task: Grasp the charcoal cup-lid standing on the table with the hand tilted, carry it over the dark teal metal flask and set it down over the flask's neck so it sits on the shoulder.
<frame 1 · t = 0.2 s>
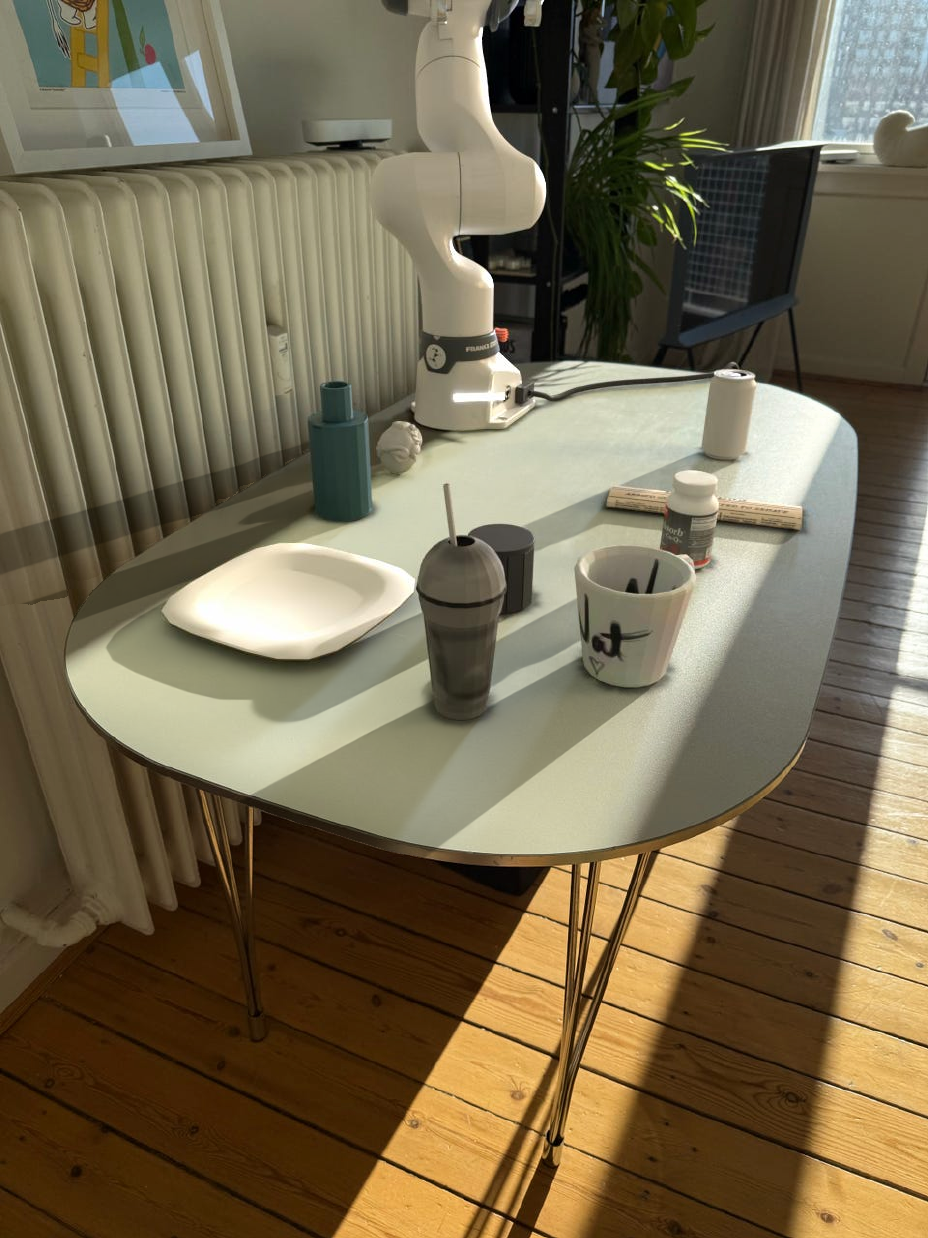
hand: (486, 23, 90), 52 cm above the table, tool tilted 20°, fingers open, 8 cm apart
plate: (293, 608, 92), on the table
cream lumpy ball: (399, 473, 127), on the table
pill bottle: (683, 561, 102), on the table
mug: (638, 658, 84), on the table
beverage can: (722, 455, 134), on the table
beverage cup: (461, 706, 77), on the table
newspaper: (702, 512, 115), on the table
flask: (343, 510, 114), on the table
flask lid: (499, 598, 94), on the table
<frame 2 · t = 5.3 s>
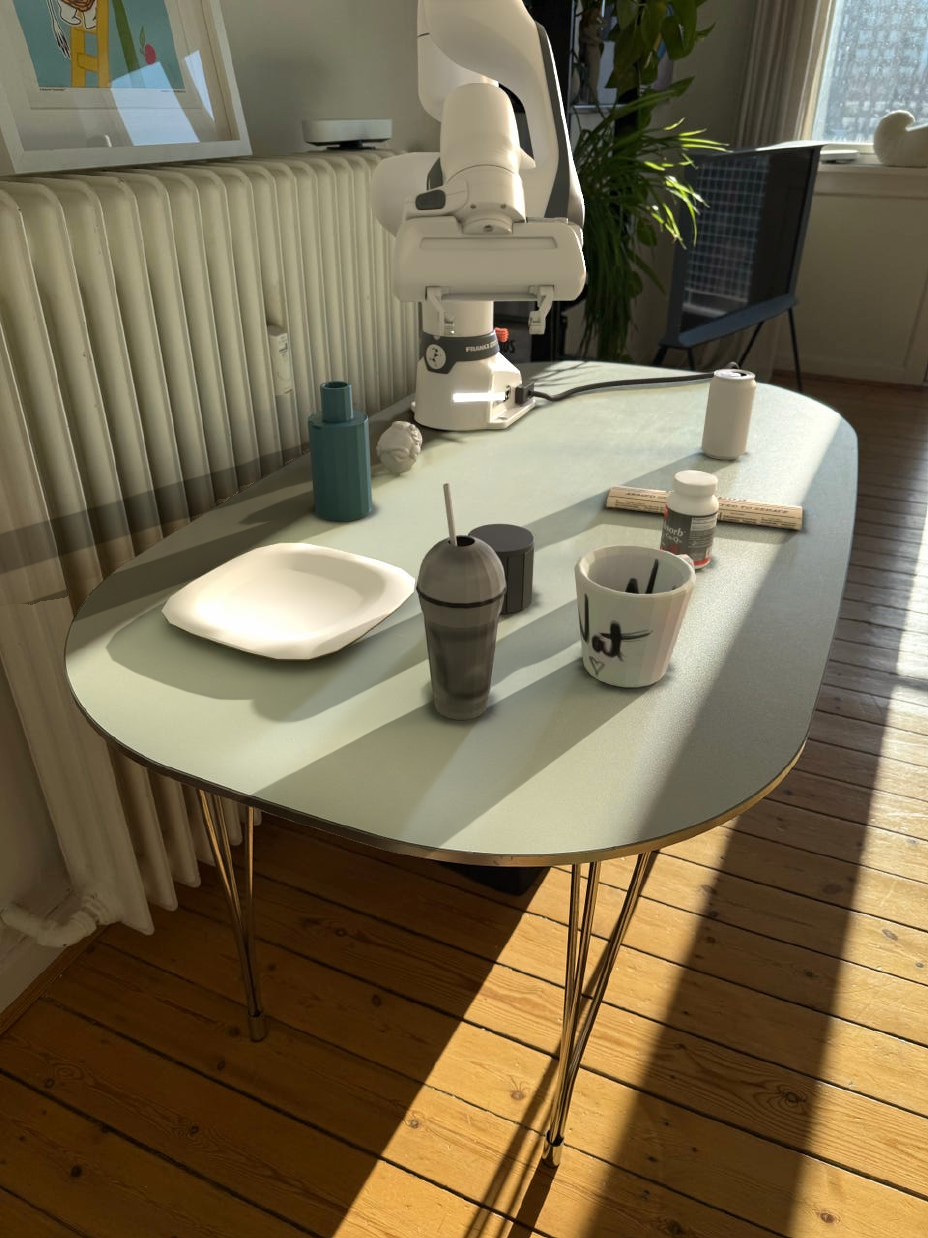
hand: (492, 331, 93), 25 cm above the table, tool tilted 45°, fingers open, 8 cm apart
nothing on the table moved.
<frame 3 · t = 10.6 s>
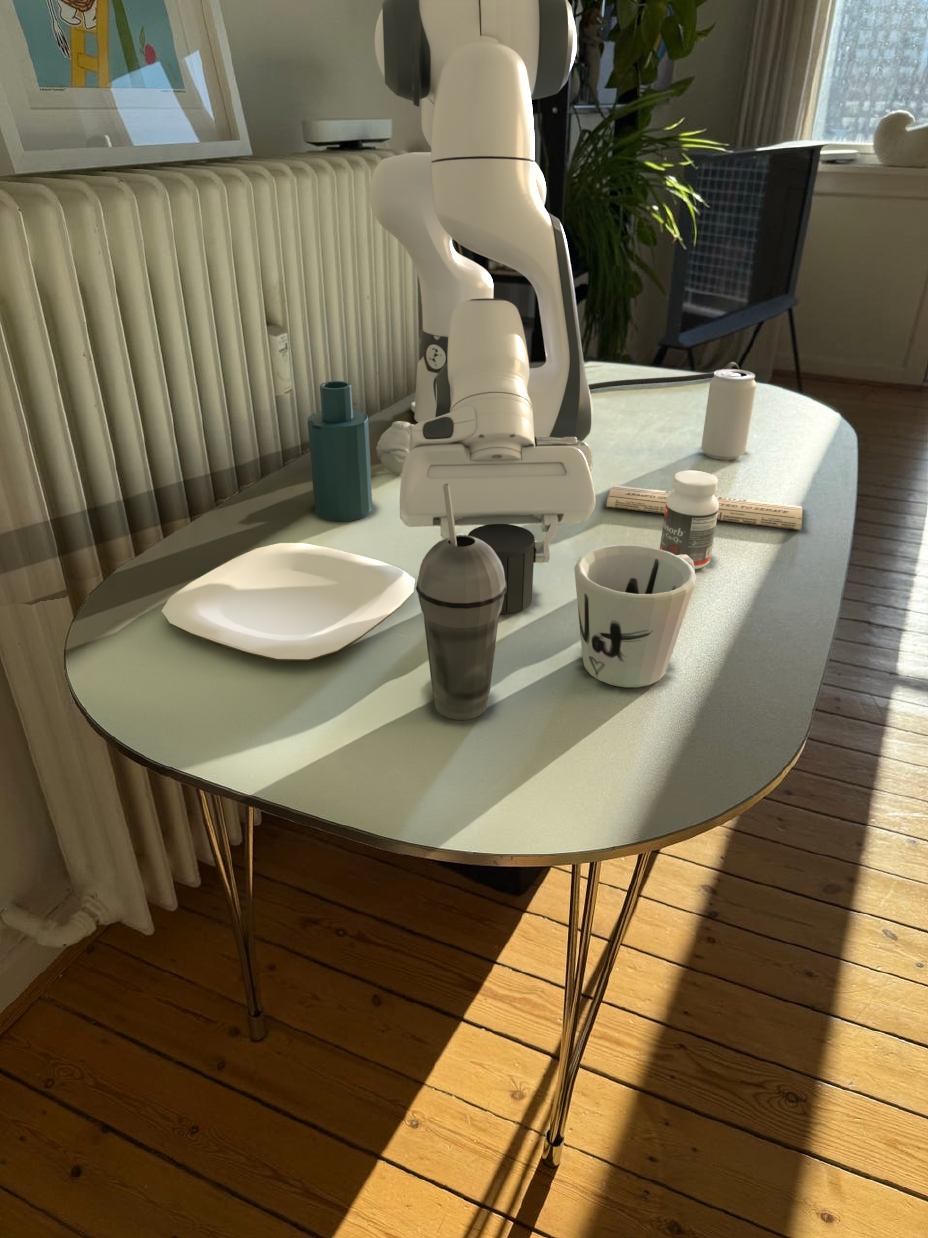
hand: (500, 562, 91), 5 cm above the table, tool tilted 45°, fingers closed on flask lid, 7 cm apart
flask lid: (499, 598, 94), on the table, touching gripper
everything else where it was.
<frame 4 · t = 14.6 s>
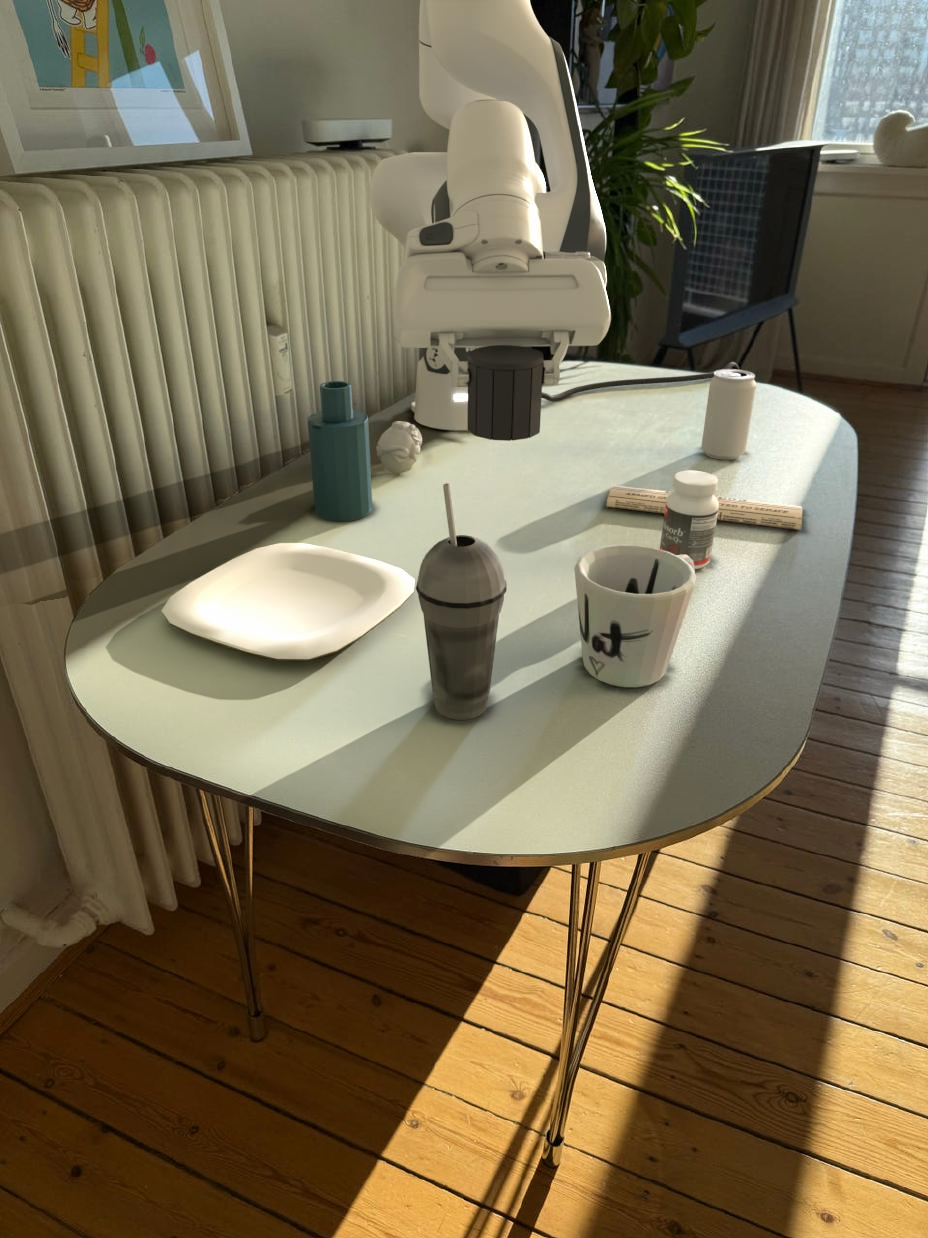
hand: (505, 383, 82), 23 cm above the table, tool tilted 45°, fingers closed on flask lid, 7 cm apart
flask lid: (503, 428, 85), point 18 cm above the table, touching gripper
everything else where it was.
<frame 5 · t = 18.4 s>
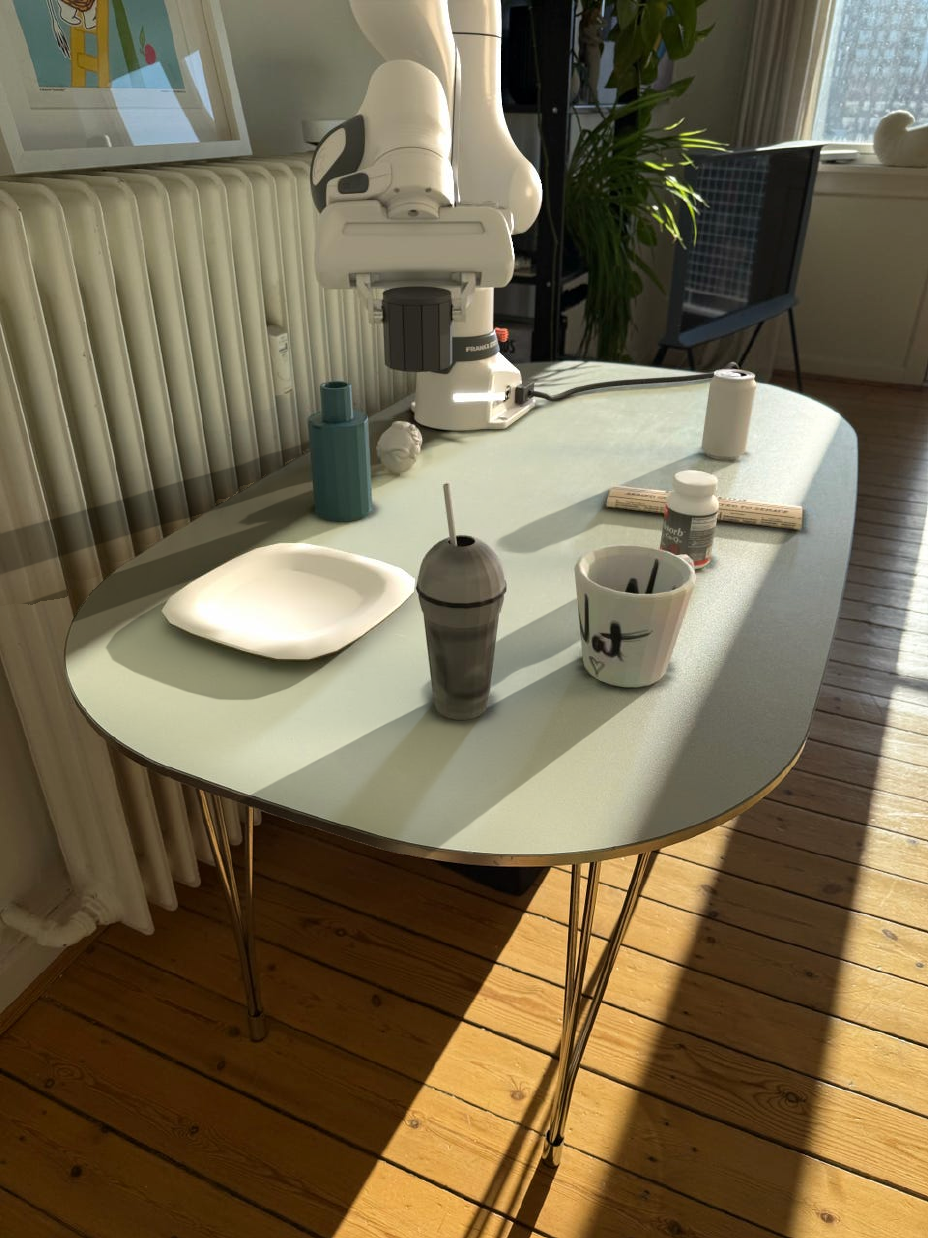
hand: (417, 319, 90), 26 cm above the table, tool tilted 45°, fingers closed on flask lid, 7 cm apart
flask lid: (418, 363, 93), point 22 cm above the table, touching gripper
everything else where it was.
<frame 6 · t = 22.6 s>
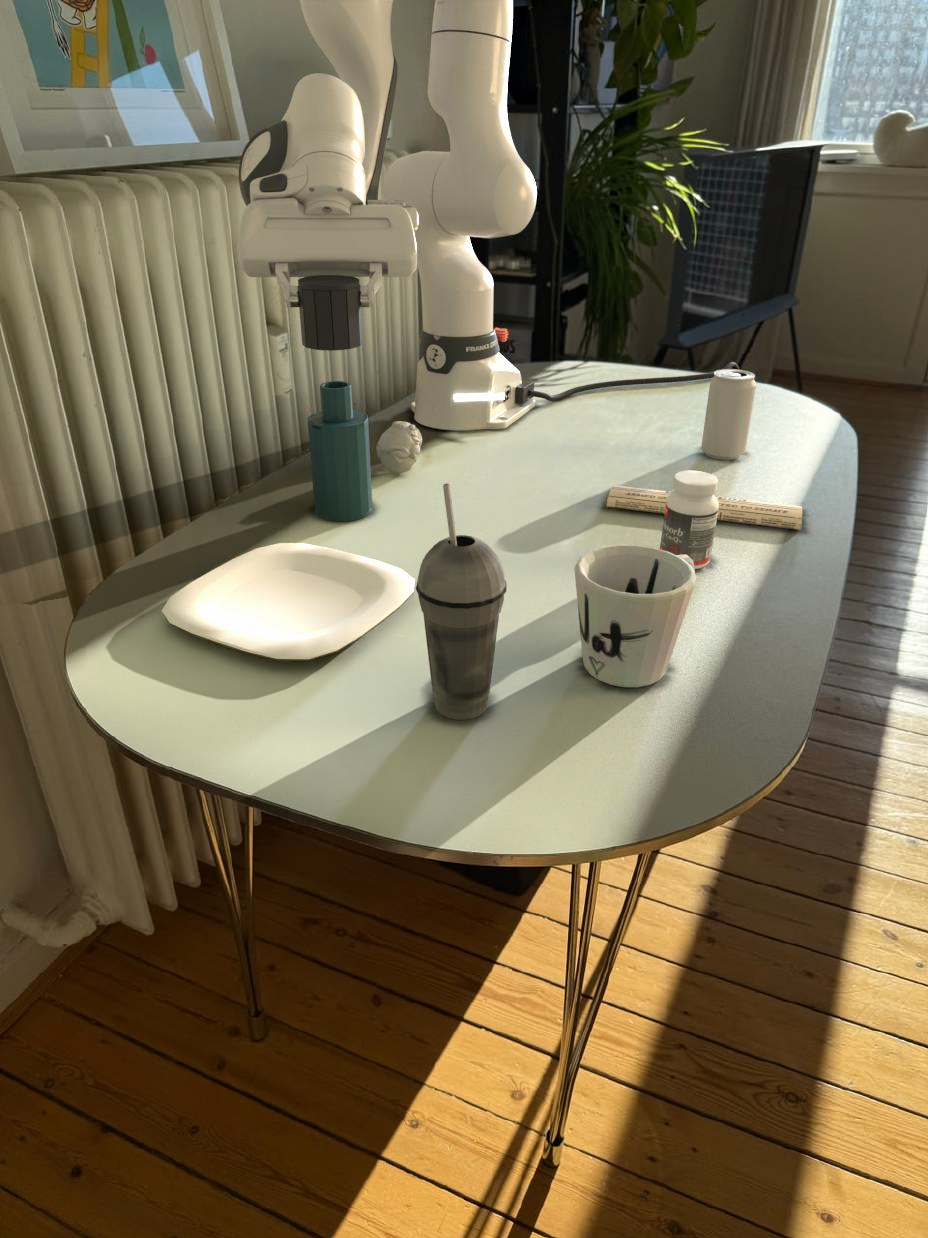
hand: (329, 304, 101), 25 cm above the table, tool tilted 45°, fingers closed on flask lid, 7 cm apart
flask lid: (332, 343, 104), point 21 cm above the table, touching gripper
everything else where it was.
when the fingers open (16 cm above the table, at t = 26.3 s): flask lid stays where it is, resting on flask.
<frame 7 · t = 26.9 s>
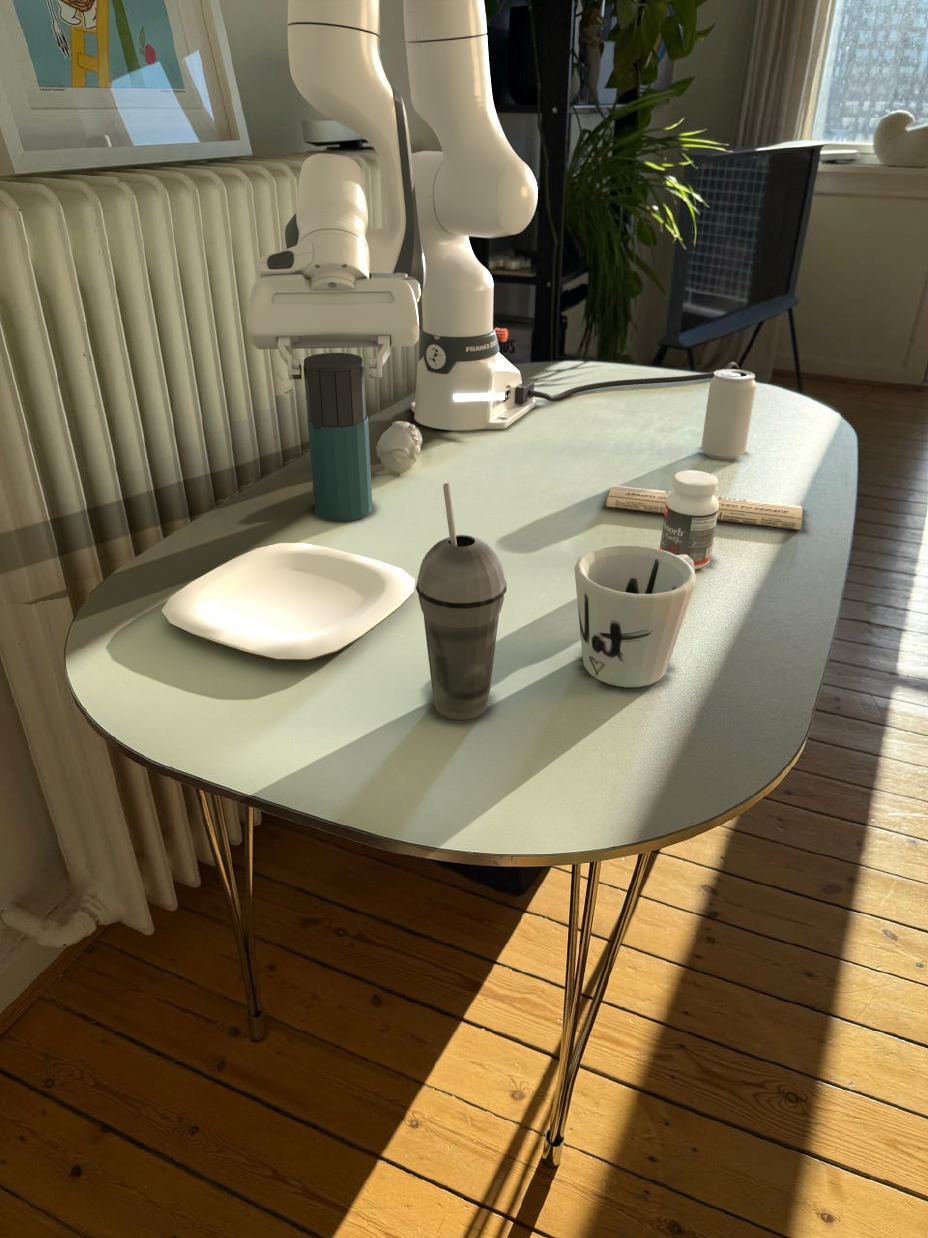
hand: (335, 376, 105), 17 cm above the table, tool tilted 45°, fingers open, 8 cm apart
flask lid: (337, 418, 108), point 12 cm above the table, touching flask
everything else where it was.
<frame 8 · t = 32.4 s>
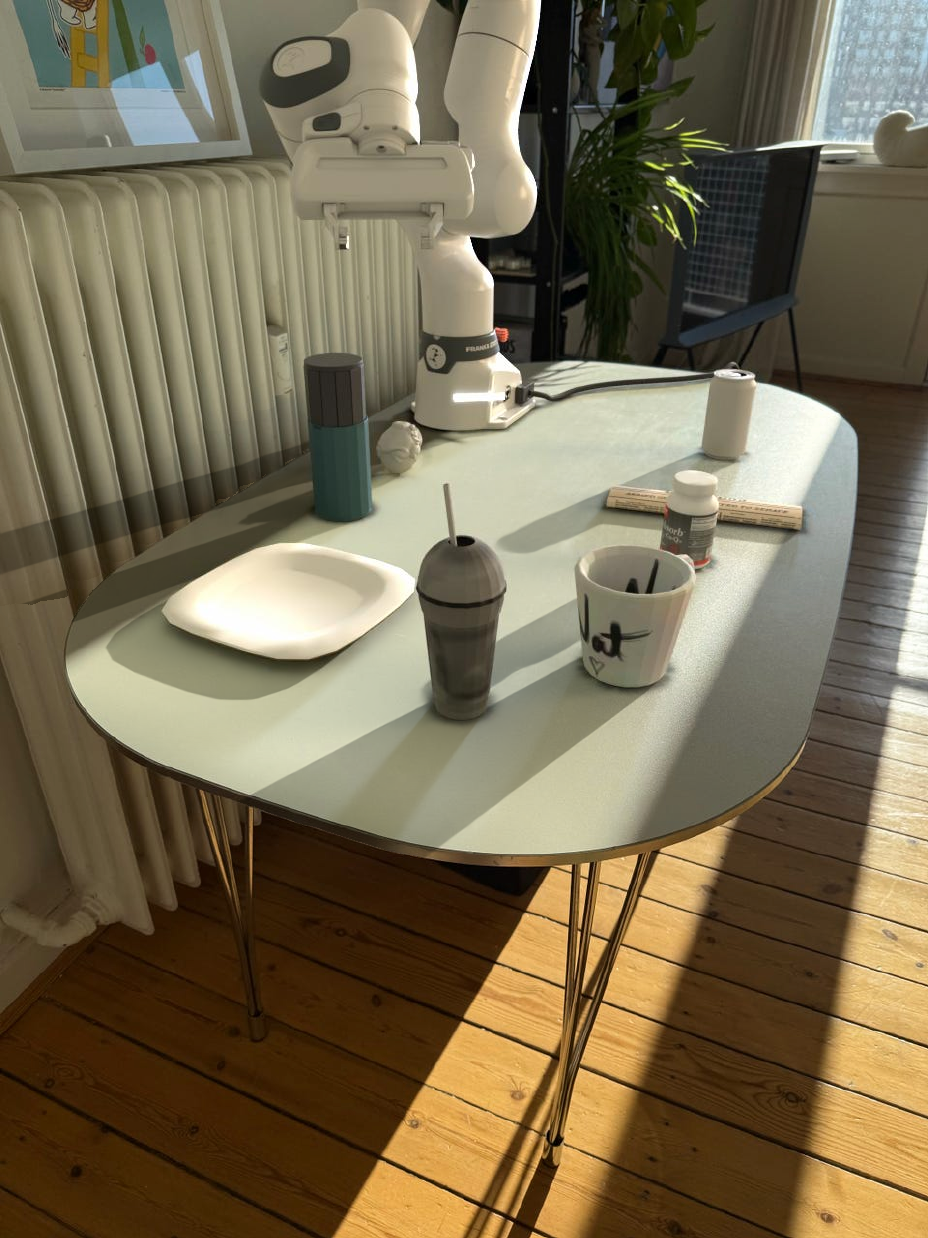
hand: (384, 245, 99), 31 cm above the table, tool tilted 45°, fingers open, 8 cm apart
nothing on the table moved.
at the end: flask lid 0.1 cm off-centre in the flask, point 12.0 cm above the flask's base; flask lid tilted 0°; the gripper is holding nothing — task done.
